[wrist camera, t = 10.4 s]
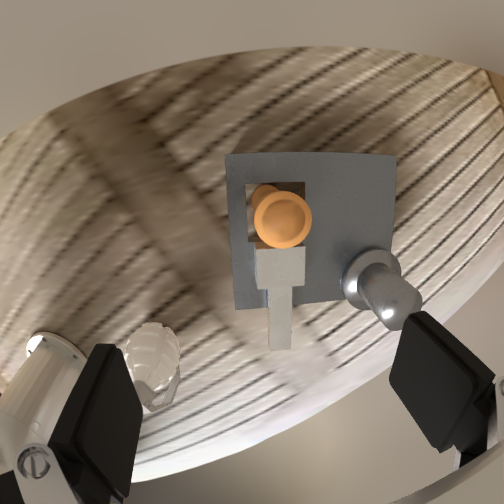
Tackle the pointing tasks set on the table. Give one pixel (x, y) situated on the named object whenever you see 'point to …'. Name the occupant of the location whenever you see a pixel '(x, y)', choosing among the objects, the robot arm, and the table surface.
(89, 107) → the table surface
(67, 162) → the table surface
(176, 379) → the hand grenade
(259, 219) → the pin
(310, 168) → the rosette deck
